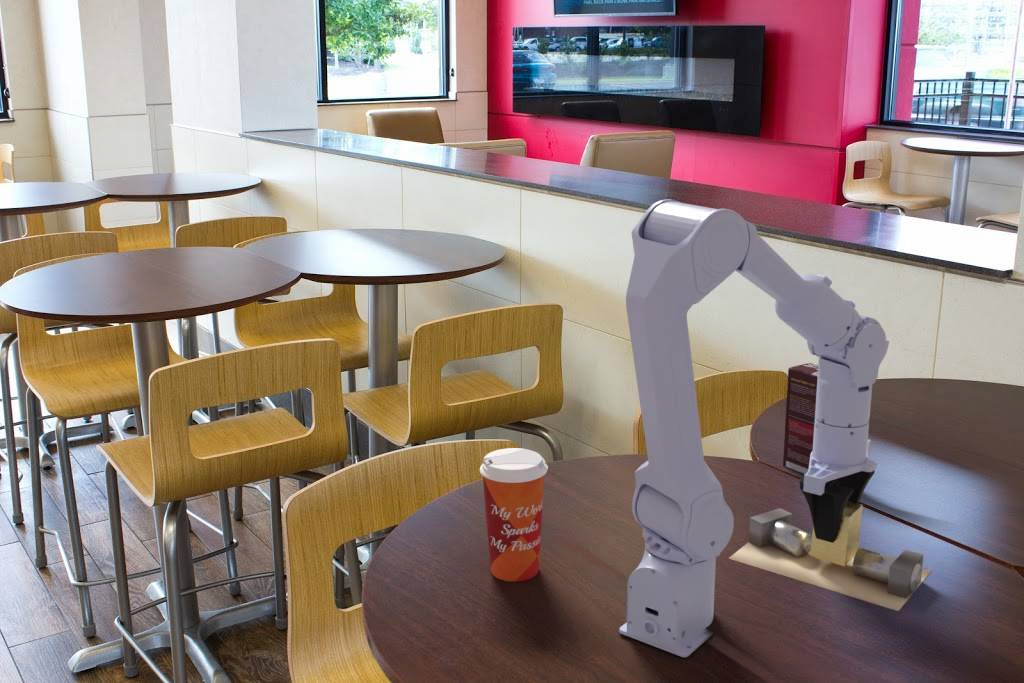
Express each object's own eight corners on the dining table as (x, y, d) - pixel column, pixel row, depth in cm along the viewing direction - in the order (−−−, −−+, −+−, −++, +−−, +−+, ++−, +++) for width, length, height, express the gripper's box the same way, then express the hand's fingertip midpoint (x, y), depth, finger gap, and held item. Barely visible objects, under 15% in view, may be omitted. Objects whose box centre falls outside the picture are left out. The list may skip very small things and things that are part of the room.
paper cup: (491, 590, 114) (488, 474, 111) (475, 560, 122) (472, 450, 118) (557, 581, 116) (557, 466, 113) (537, 551, 124) (537, 443, 120)
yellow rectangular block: (844, 566, 114) (849, 516, 112) (810, 555, 116) (814, 507, 114) (857, 553, 117) (862, 504, 115) (824, 543, 119) (828, 495, 117)
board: (897, 621, 107) (901, 583, 106) (727, 567, 119) (729, 533, 118) (930, 580, 115) (933, 545, 114) (768, 534, 127) (770, 501, 126)
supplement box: (851, 484, 142) (860, 375, 138) (828, 492, 139) (836, 382, 135) (802, 465, 149) (809, 361, 145) (780, 473, 146) (786, 367, 142)
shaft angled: (812, 554, 119) (813, 530, 119) (794, 560, 118) (795, 536, 117) (771, 533, 125) (772, 510, 124) (753, 539, 123) (754, 516, 123)
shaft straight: (919, 584, 112) (922, 560, 111) (910, 595, 110) (913, 570, 109) (861, 567, 116) (863, 543, 115) (851, 577, 114) (853, 553, 113)
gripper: (853, 445, 104) (843, 566, 108) (900, 408, 115) (890, 519, 119) (788, 431, 108) (781, 548, 112) (839, 397, 119) (831, 504, 123)
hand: (833, 532), depth 116 cm, fingers closed on yellow rectangular block, 4 cm apart
